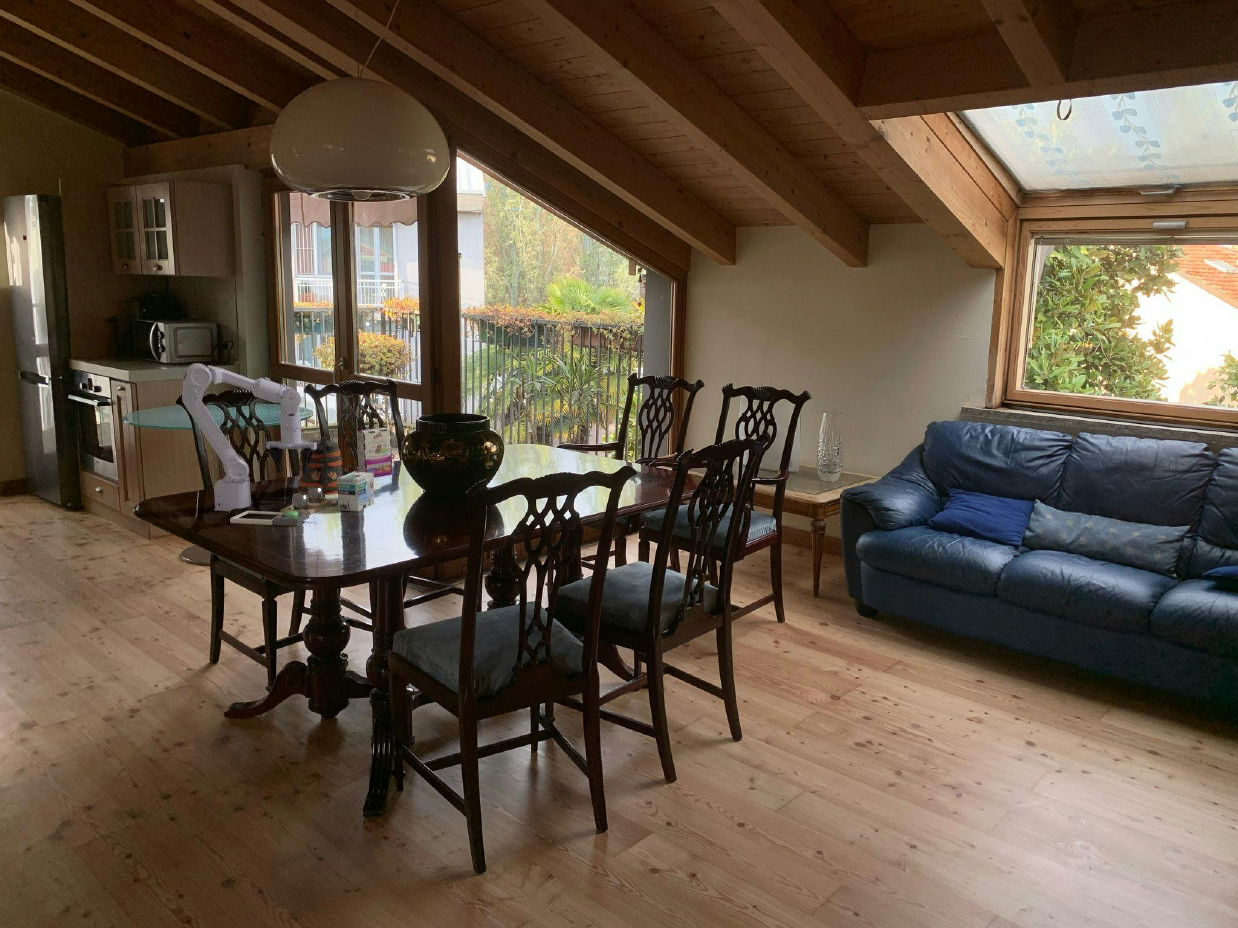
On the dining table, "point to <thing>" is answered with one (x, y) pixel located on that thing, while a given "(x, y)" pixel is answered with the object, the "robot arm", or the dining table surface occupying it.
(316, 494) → the billet
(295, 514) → the button
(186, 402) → the robot arm
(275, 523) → the console
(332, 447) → the grey orange striped backpack
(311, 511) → the pallet board
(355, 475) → the light bulb box
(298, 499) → the billet
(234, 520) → the white rectangular frame
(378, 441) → the candy bar box
